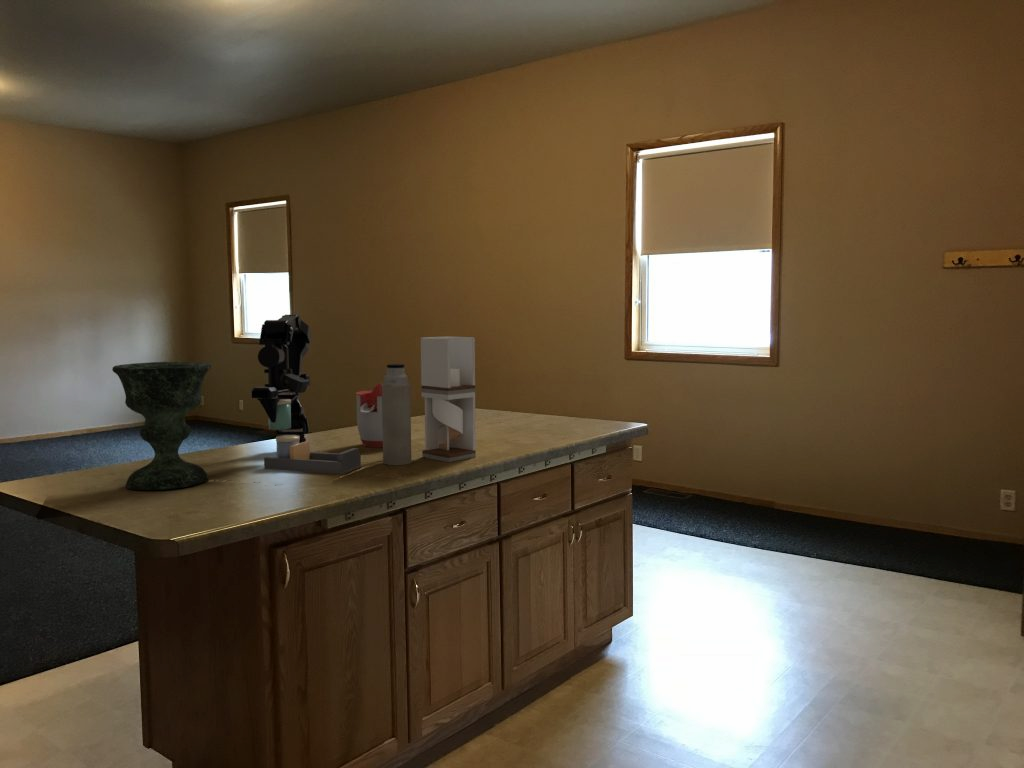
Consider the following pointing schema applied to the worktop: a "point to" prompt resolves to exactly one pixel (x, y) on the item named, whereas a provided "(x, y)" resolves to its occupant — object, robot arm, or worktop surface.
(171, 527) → the worktop surface
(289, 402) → the teal jar
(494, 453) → the worktop surface
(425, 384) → the spiral ramp tower
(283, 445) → the slate jar
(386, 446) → the thermos bottle
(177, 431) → the goblet
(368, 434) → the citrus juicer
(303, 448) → the bar
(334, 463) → the grey open rectangular box
